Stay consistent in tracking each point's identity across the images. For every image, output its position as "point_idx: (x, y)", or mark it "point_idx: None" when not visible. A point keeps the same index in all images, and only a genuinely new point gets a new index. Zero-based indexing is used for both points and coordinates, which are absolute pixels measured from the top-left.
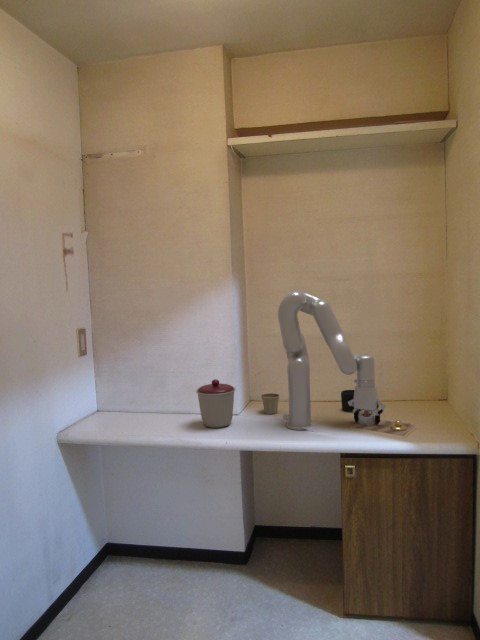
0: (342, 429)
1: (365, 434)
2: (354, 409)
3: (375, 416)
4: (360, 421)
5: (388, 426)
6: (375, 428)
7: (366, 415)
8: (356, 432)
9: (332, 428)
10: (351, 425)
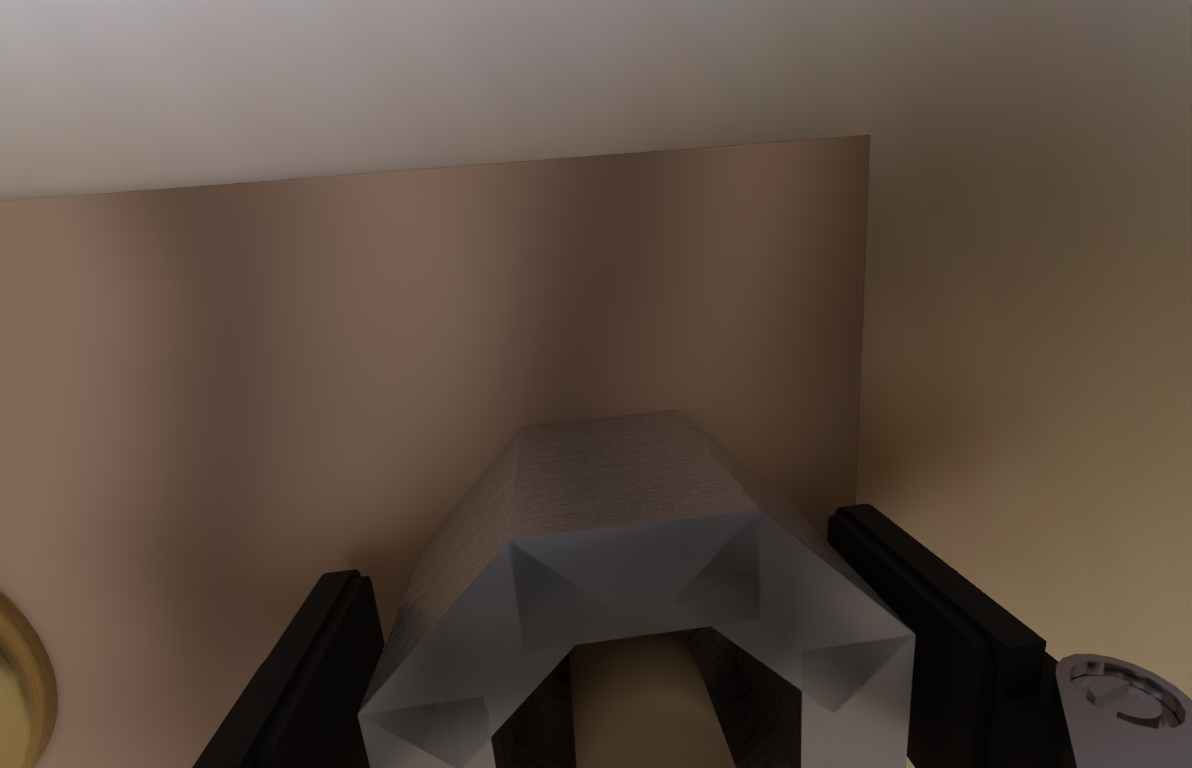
0: (938, 75)
1: (326, 28)
2: (1184, 762)
3: (241, 739)
4: (690, 440)
5: (125, 675)
6: (255, 393)
7: (614, 704)
8: (578, 50)
9: (1155, 10)
10: (834, 271)
